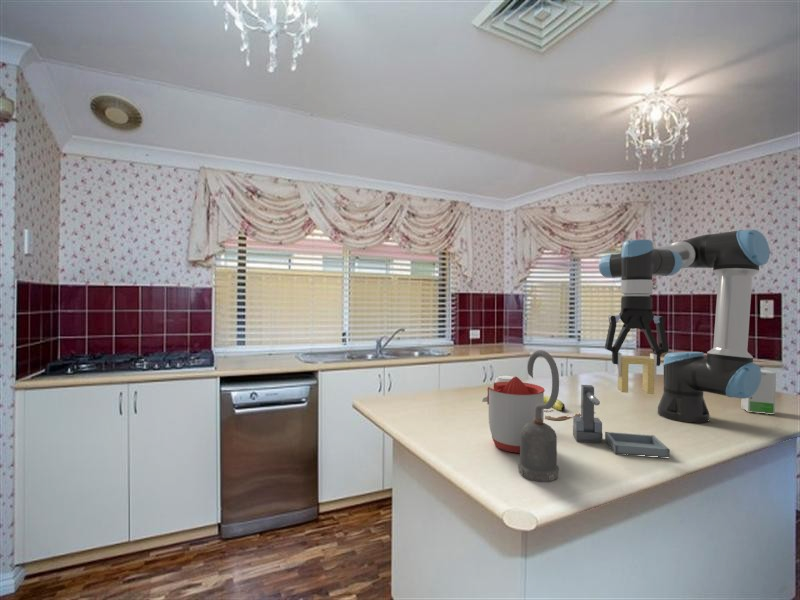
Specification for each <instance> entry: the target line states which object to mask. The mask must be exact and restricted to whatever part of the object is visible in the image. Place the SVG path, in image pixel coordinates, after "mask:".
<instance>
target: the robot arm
mask: <svg viewBox="0 0 800 600" xmlns="http://www.w3.org/2000/svg"><path fill="white" fill-rule="evenodd" d="M621 246H622V247H621V252H620V253H611V254H606V255H603V256H602V257H601V258H600V260H599V261H598V262H599V263H598V269H599V273H600V275H601V276H602V277H605V278H612V279H615V278H621V288H620V289H621V290H620V294H621V295H622V296H621V298H620V313H619V314H616V315H611V314H609V316H608V321H609V325H608V330H607V334H606V340H605V344H604V349H605V350H606V351H609V352H611V363H612V364H613V365H615V376H617V378H618V377H621V358H622V356H623V355H622V354H623V353H622V352H619V351H620V350H621V348H622V346H623V344H624V342H625V340H626V338H627V336H628V333H629V332H631V330H634V329H636V330H637V329H638V330H642V332H643V333H644V335H645V338H646V340H647V342H648V344H649V346H650V349H651V350H652V352H653V353H649V357H650V358H653V359H655V361H654V379H657V368H658V367H659V366H661V355H663V354H664V353H666V354H665V355H664V356H663V357H664V358H663V364H662V367H663V392H662V396H661V398H660V401H659V403H658V406H657V414H658V415H659V416H660V417H663V418H665V417H666V418H665V419H669V418H670V420H672V419H674V421H677V420H679V421H678V422H683V421H685V422H686V423H692V422H704V423H707V422H706V421H708V420H709V419H710V416H711V415H710V412H709V411H710V410H709V409H708V407H707V403H706V401H705V397H704V392H705V393H710V394H714V395H715V394H716V395H720V396H724V397H725V396H726V397H727V398H737V399H745V398H749V397H751V396H752V395H753V394H754V393H755V392H756V391H757V389H758V387H759V385H760V382H761V376H762V373H761V371H760V370H762V369H761V367H760V365H759V364H757V363H755V362H754V357H753V355H752V354H751V353H749V352H748V343H749V331H750V316H751V314H750V313H751V302H752V301H751V300H752V287H753V277H755V276H756V275H757V274H758V273H759V272H760V267H761V266H765V265H766V264H767V263H768V262H769V259H770V253H771V252H770V246H769V243H768V241H767V238H766V237H765V235H764V234H763V233H762V232H761V231H759V230H757V229H739V230H734V231H733V230H731V231H725V232H718V233H711V234H709V233H708V234H704V235H699V236H695V237H691V238H687V239H684V240H678V241H675V242H673V243H671V244H670V245H664V246H659V247H654V244H653V241H652V240H651V239H645V238H644V239H640V238H639V239H629V240H625V241H624V242H623V243H622V245H621ZM686 268H687V269H688V268H690V269H691V268H692V269H694V268H698V269H699V268H700V269H709V268H710V269H712V273H714V274H715V275H716V276H717V291H716V292H717V293H716V302H715V303H716V305H715V318H714V319H715V320H714V322H715V323H714V331H713V332H714V333H713V346H712V347H713V348H712V349H710V350H708V351H707V353H706V357H705V354H704V352H703V351H701V352H700V351H680V352H679V351H677V352H674V351H673V352H669V345H668V340H667V335H666V329H665V322H666V317H665V316H660V315H655V314H654V313H653V297H652V296H651V295H652V294H653V277H654V276H660V277H668V276H673V275H676V274H677V273H678V272H680V271H681V269H686ZM619 320H621V322H622V323H623V324H622V326H621V329H620V331H619V334H618V336H617V338H616V339H615V342H614V338H615V335H616V329H617V324H618V323H619V322H620V321H619ZM652 321H653V322H654V324H655V328H656V334H657V340H658V342H657V340H656V338H655V336H654V334H653V332H652V328H651V326H650V323H651V322H652ZM709 421H710V420H709ZM709 421H708V422H709ZM685 422H684V423H685Z"/></svg>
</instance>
